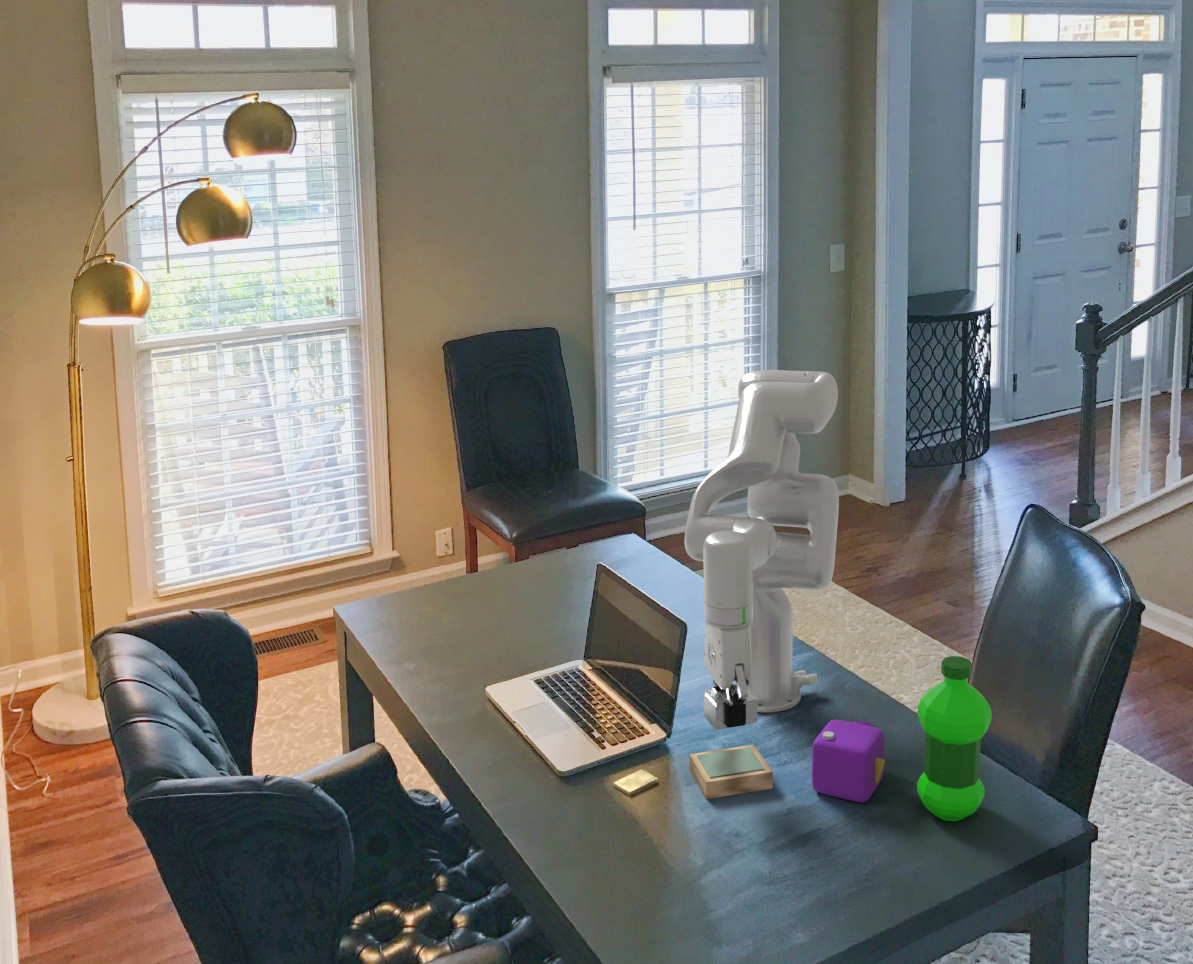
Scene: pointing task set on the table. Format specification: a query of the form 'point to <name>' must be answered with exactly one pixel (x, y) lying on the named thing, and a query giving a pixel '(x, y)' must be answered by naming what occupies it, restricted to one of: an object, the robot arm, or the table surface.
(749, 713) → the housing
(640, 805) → the table surface
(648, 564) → the table surface
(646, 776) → the cover plate
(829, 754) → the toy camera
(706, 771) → the picture frame
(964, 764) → the plastic bottle
